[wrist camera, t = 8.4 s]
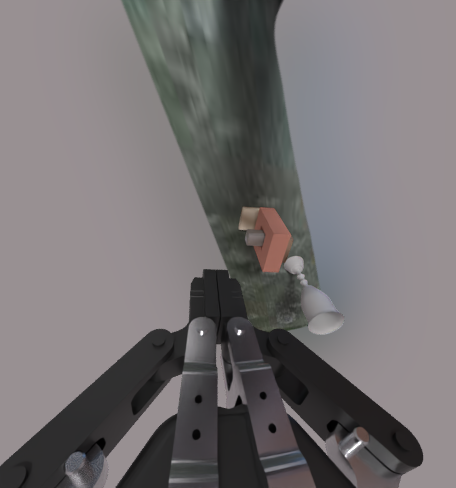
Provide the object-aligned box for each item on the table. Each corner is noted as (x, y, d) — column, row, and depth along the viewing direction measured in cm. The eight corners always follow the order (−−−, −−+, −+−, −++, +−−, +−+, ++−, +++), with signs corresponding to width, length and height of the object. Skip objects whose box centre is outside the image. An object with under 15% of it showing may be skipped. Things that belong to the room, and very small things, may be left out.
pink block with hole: (259, 207, 45) (273, 233, 37) (274, 208, 46) (291, 234, 38) (251, 241, 50) (262, 271, 42) (265, 241, 50) (278, 272, 42)
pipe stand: (242, 206, 48) (253, 237, 38) (274, 209, 49) (293, 239, 40) (238, 227, 51) (248, 261, 41) (268, 229, 52) (285, 262, 42)
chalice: (313, 258, 59) (352, 316, 44) (296, 277, 62) (328, 337, 47) (290, 249, 56) (324, 307, 41) (274, 268, 59) (300, 329, 44)
